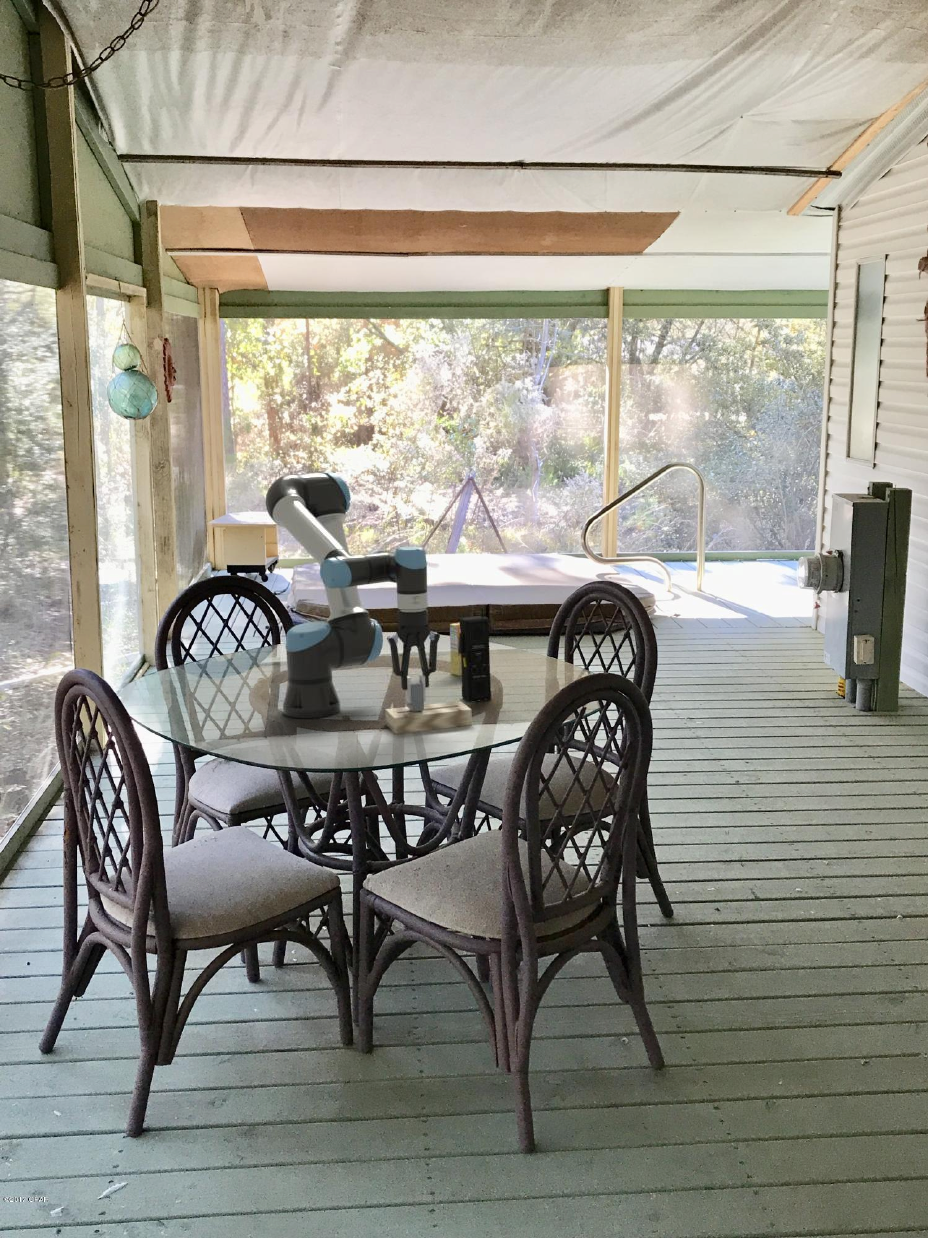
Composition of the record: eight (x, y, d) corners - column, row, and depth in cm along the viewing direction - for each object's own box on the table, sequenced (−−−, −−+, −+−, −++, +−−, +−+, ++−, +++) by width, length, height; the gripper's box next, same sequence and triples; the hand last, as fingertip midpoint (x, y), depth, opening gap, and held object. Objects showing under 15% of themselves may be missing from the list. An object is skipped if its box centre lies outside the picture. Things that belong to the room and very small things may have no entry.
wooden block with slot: (395, 733, 284) (394, 717, 284) (386, 724, 293) (385, 708, 292) (471, 724, 291) (471, 708, 290) (460, 716, 299) (460, 700, 298)
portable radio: (466, 703, 311) (463, 612, 306) (457, 698, 316) (454, 609, 312) (492, 700, 314) (490, 609, 309) (483, 695, 319) (481, 606, 315)
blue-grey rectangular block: (412, 711, 287) (411, 684, 286) (408, 707, 291) (407, 681, 290) (424, 710, 288) (423, 683, 287) (419, 706, 292) (418, 679, 291)
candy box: (473, 669, 351) (471, 619, 348) (482, 671, 348) (480, 621, 345) (450, 674, 345) (449, 623, 343) (459, 676, 342) (457, 625, 339)
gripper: (384, 614, 279) (388, 708, 284) (448, 609, 284) (450, 701, 288) (377, 609, 286) (381, 700, 291) (439, 604, 291) (442, 694, 295)
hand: (415, 700), depth 289 cm, fingers closed on blue-grey rectangular block, 3 cm apart
